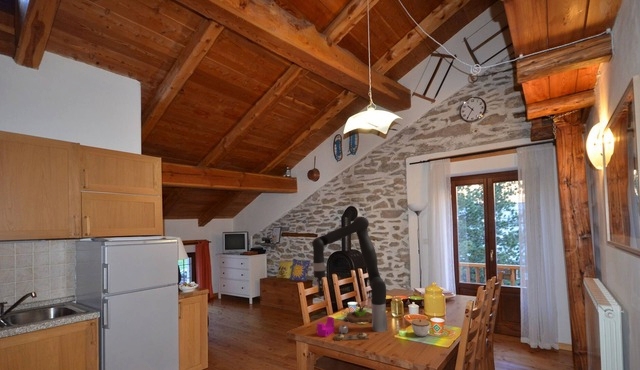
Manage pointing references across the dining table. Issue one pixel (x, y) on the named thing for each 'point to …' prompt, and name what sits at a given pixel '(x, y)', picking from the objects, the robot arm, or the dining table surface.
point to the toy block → (326, 327)
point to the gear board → (351, 337)
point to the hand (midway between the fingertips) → (320, 294)
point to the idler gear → (343, 329)
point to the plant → (359, 315)
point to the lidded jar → (420, 327)
